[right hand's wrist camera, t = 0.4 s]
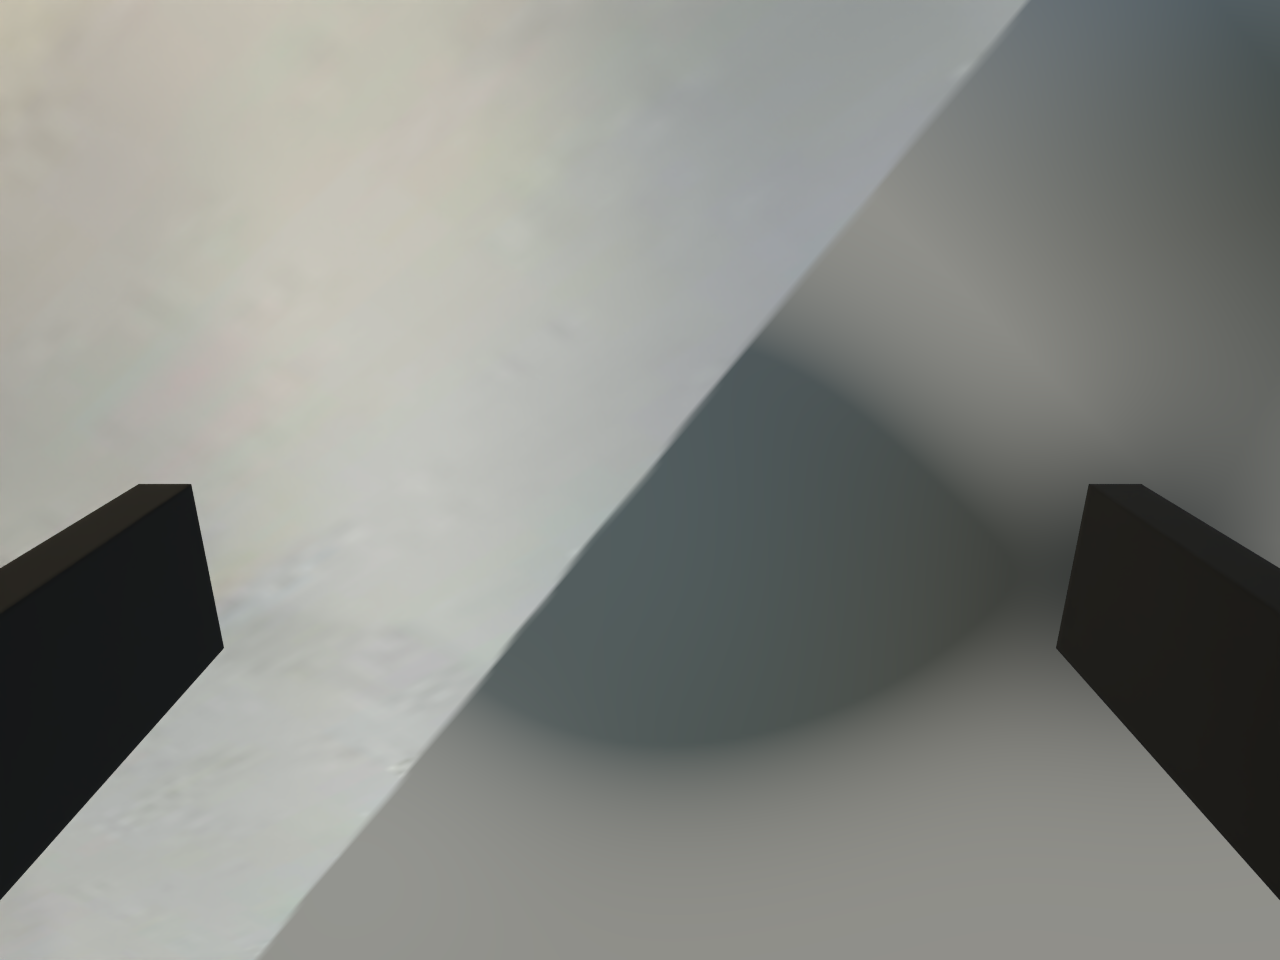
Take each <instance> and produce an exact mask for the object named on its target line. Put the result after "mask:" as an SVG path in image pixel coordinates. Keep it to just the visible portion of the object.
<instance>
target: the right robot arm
mask: <svg viewBox="0 0 1280 960" xmlns="http://www.w3.org/2000/svg"><path fill="white" fill-rule="evenodd" d="M223 648H224V646H223V641H222V636H221V631H220V626H219V621H218V616H217V611H216V606H215V601H214V596H213V591H212V586H211V581H210V576H209V571H208V566H207V561H206V556H205V551H204V546H203V541H202V536H201V531H200V526H199V521H198V516H197V511H196V506H195V501H194V496H193V491H192V486H191V484H138V485H137V486H135V487H133V488H132V489H130V490H128V491H127V492H125V493H123V494H122V495H120V496H118V497H117V498H115V499H114V500H112V501H110V502H109V503H107V504H105V505H104V506H102V507H100V508H99V509H97V510H95V511H94V512H92V513H91V514H89V515H87V516H86V517H84V518H82V519H81V520H79V521H77V522H76V523H74V524H72V525H71V526H69V527H67V528H66V529H64V530H63V531H61V532H59V533H58V534H56V535H54V536H53V537H51V538H49V539H48V540H46V541H44V542H43V543H41V544H40V545H38V546H36V547H35V548H33V549H31V550H30V551H28V552H26V553H25V554H23V555H21V556H20V557H18V558H17V559H15V560H13V561H12V562H10V563H8V564H7V565H5V566H3V567H2V568H0V900H1V899H2V897H3V896H4V895H5V894H6V893H7V892H8V891H9V890H10V888H11V887H12V886H13V885H14V884H15V883H16V882H17V881H18V879H19V878H20V877H21V876H22V875H23V874H24V873H25V872H26V870H27V869H28V868H29V867H30V866H31V865H32V864H33V863H34V861H35V860H36V859H37V858H38V857H39V856H40V855H41V854H42V852H43V851H44V850H45V849H46V848H47V847H48V846H49V845H50V843H51V842H52V841H53V840H54V839H55V838H56V837H57V836H58V834H59V833H60V832H61V831H62V830H63V829H64V828H65V826H66V825H67V824H68V823H69V822H70V821H71V820H72V819H73V817H74V816H75V815H76V814H77V813H78V812H79V811H80V810H81V808H82V807H83V806H84V805H85V804H86V803H87V802H88V801H89V799H90V798H91V797H92V796H93V795H94V794H95V793H96V792H97V790H98V789H99V788H100V787H101V786H102V785H103V784H104V783H105V781H106V780H107V779H108V778H109V777H110V776H111V775H112V774H113V772H114V771H115V770H116V769H117V768H118V767H119V766H120V765H121V763H122V762H123V761H124V760H125V759H126V758H127V757H128V756H129V754H130V753H131V752H132V751H133V750H134V749H135V748H136V747H137V745H138V744H139V743H140V742H141V741H142V740H143V739H144V737H145V736H146V735H147V734H148V733H149V732H150V731H151V730H152V728H153V727H154V726H155V725H156V724H157V723H158V722H159V721H160V719H161V718H162V717H163V716H164V715H165V714H166V713H167V712H168V710H169V709H170V708H171V707H172V706H173V705H174V704H175V703H176V701H177V700H178V699H179V698H180V697H181V696H182V695H183V694H184V692H185V691H186V690H187V689H188V688H189V687H190V686H191V685H192V683H193V682H194V681H195V680H196V679H197V678H198V677H199V676H200V674H201V673H202V672H203V671H204V670H205V669H206V668H207V667H208V665H209V664H210V663H211V662H212V661H213V660H214V659H215V657H216V656H217V655H218V654H219V653H220V652H221V651H222V650H223ZM1056 648H1057V650H1058V651H1059V652H1060V653H1061V654H1062V655H1063V656H1064V657H1065V659H1066V660H1067V661H1068V662H1069V663H1070V664H1071V665H1072V667H1073V668H1074V669H1075V670H1076V671H1077V672H1078V673H1079V674H1080V676H1081V677H1082V678H1083V679H1084V680H1085V681H1086V682H1087V683H1088V685H1089V686H1090V687H1091V688H1092V689H1093V690H1094V691H1095V692H1096V694H1097V695H1098V696H1099V697H1100V698H1101V699H1102V700H1103V701H1104V703H1105V704H1106V705H1107V706H1108V707H1109V708H1110V709H1111V710H1112V712H1113V713H1114V714H1115V715H1116V716H1117V717H1118V718H1119V719H1120V721H1121V722H1122V723H1123V724H1124V725H1125V726H1126V727H1127V728H1128V730H1129V731H1130V732H1131V733H1132V734H1133V735H1134V736H1135V737H1136V739H1137V740H1138V741H1139V742H1140V743H1141V744H1142V745H1143V746H1144V748H1145V749H1146V750H1147V751H1148V752H1149V753H1150V754H1151V756H1152V757H1153V758H1154V759H1155V760H1156V761H1157V762H1158V763H1159V765H1160V766H1161V767H1162V768H1163V769H1164V770H1165V771H1166V772H1167V774H1168V775H1169V776H1170V777H1171V778H1172V779H1173V780H1174V781H1175V783H1176V784H1177V785H1178V786H1179V787H1180V788H1181V789H1182V790H1183V792H1184V793H1185V794H1186V795H1187V796H1188V797H1189V798H1190V799H1191V800H1192V802H1193V803H1194V804H1195V805H1196V806H1197V807H1198V808H1199V810H1200V811H1201V812H1202V813H1203V814H1204V815H1205V816H1206V817H1207V819H1208V820H1209V821H1210V822H1211V823H1212V824H1213V825H1214V826H1215V828H1216V829H1217V830H1218V831H1219V832H1220V833H1221V834H1222V836H1223V837H1224V838H1225V839H1226V840H1227V841H1228V842H1229V843H1230V844H1231V846H1232V847H1233V848H1234V849H1235V850H1236V851H1237V852H1238V854H1239V855H1240V856H1241V857H1242V858H1243V859H1244V860H1245V861H1246V862H1247V864H1248V865H1249V866H1250V867H1251V868H1252V869H1253V870H1254V872H1255V873H1256V874H1257V875H1258V876H1259V877H1260V878H1261V879H1262V881H1263V882H1264V883H1265V884H1266V885H1267V886H1268V887H1269V888H1270V890H1271V891H1272V892H1273V893H1274V894H1275V895H1276V896H1277V897H1278V899H1279V900H1280V568H1278V567H1277V566H1275V565H1273V564H1272V563H1270V562H1268V561H1267V560H1265V559H1263V558H1262V557H1260V556H1259V555H1257V554H1255V553H1254V552H1252V551H1250V550H1249V549H1247V548H1245V547H1244V546H1242V545H1240V544H1239V543H1237V542H1236V541H1234V540H1232V539H1231V538H1229V537H1227V536H1226V535H1224V534H1222V533H1221V532H1219V531H1217V530H1216V529H1214V528H1213V527H1211V526H1209V525H1208V524H1206V523H1204V522H1203V521H1201V520H1199V519H1198V518H1196V517H1194V516H1193V515H1191V514H1189V513H1188V512H1186V511H1185V510H1183V509H1181V508H1180V507H1178V506H1176V505H1175V504H1173V503H1171V502H1170V501H1168V500H1166V499H1165V498H1163V497H1162V496H1160V495H1158V494H1157V493H1155V492H1153V491H1152V490H1150V489H1148V488H1147V487H1145V486H1143V485H1142V484H1089V486H1088V491H1087V496H1086V501H1085V506H1084V511H1083V516H1082V521H1081V526H1080V531H1079V536H1078V541H1077V546H1076V551H1075V556H1074V561H1073V566H1072V571H1071V576H1070V581H1069V586H1068V591H1067V596H1066V601H1065V606H1064V611H1063V616H1062V621H1061V626H1060V631H1059V636H1058V641H1057V646H1056Z"/></svg>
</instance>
